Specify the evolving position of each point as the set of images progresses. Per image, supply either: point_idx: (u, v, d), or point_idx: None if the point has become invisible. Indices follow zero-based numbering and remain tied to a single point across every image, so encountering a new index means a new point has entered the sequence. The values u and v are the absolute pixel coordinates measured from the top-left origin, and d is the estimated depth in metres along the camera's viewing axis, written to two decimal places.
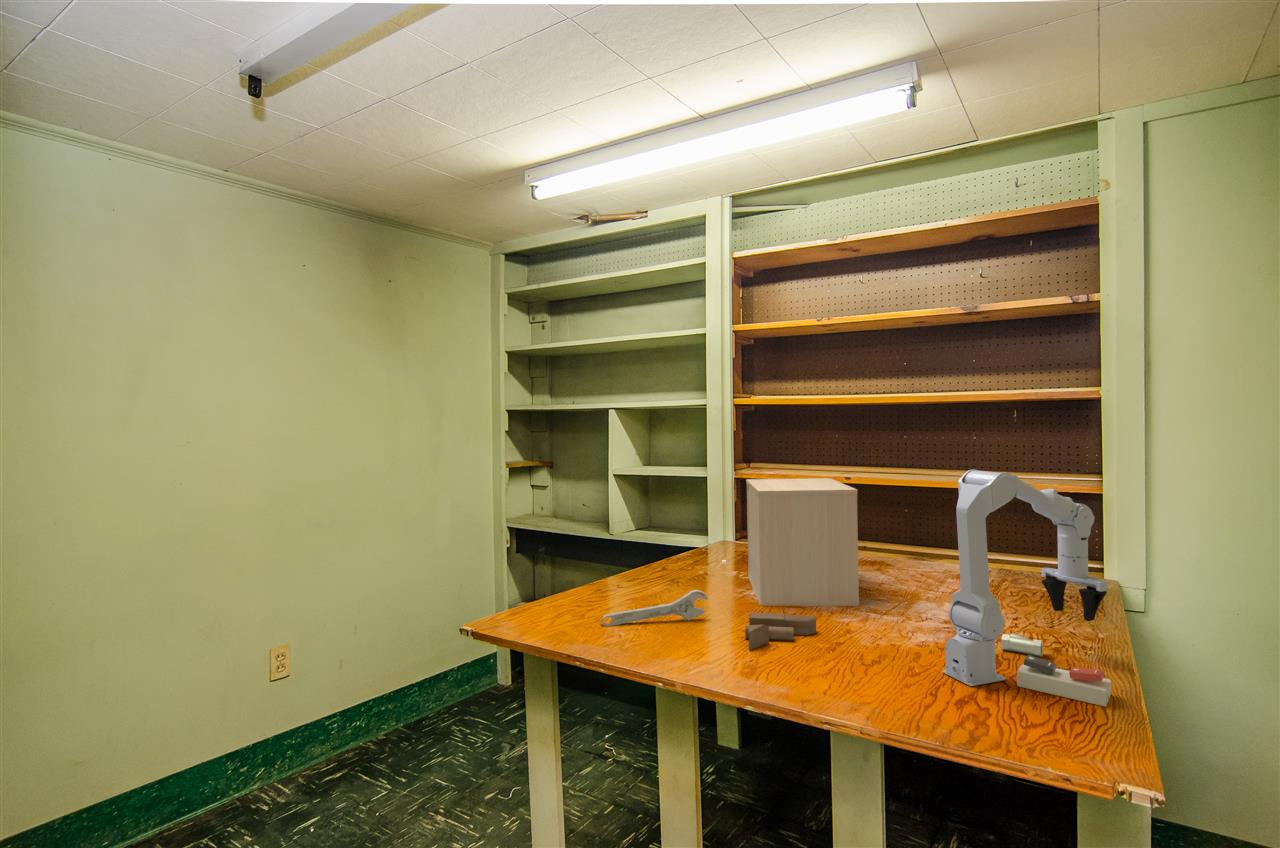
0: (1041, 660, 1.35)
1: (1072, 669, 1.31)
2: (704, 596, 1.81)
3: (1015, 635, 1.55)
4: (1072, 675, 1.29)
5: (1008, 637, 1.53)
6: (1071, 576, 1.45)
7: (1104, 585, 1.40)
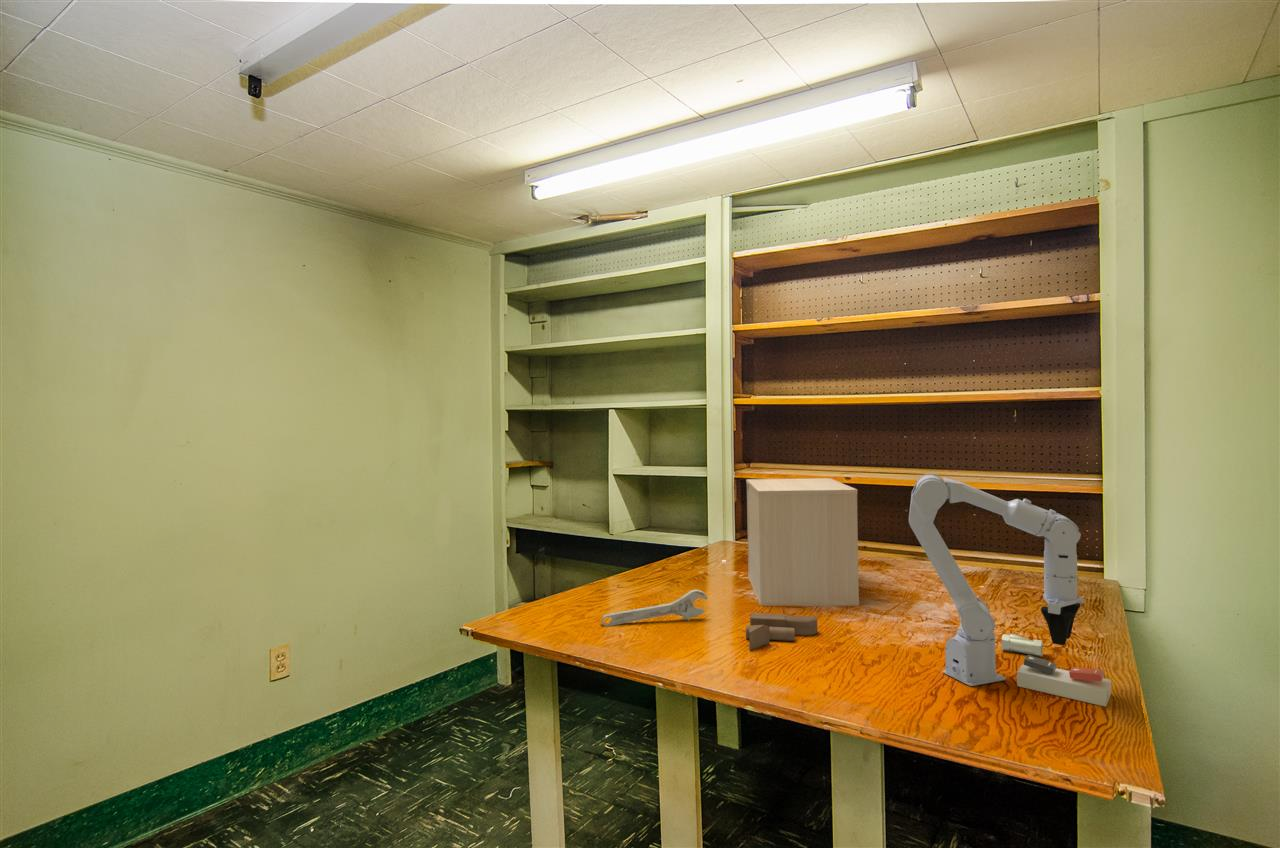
0: (1041, 660, 1.35)
1: (1072, 669, 1.31)
2: (704, 596, 1.82)
3: (1015, 635, 1.55)
4: (1072, 675, 1.29)
5: (1008, 637, 1.53)
6: (1045, 594, 1.34)
7: (1054, 607, 1.28)
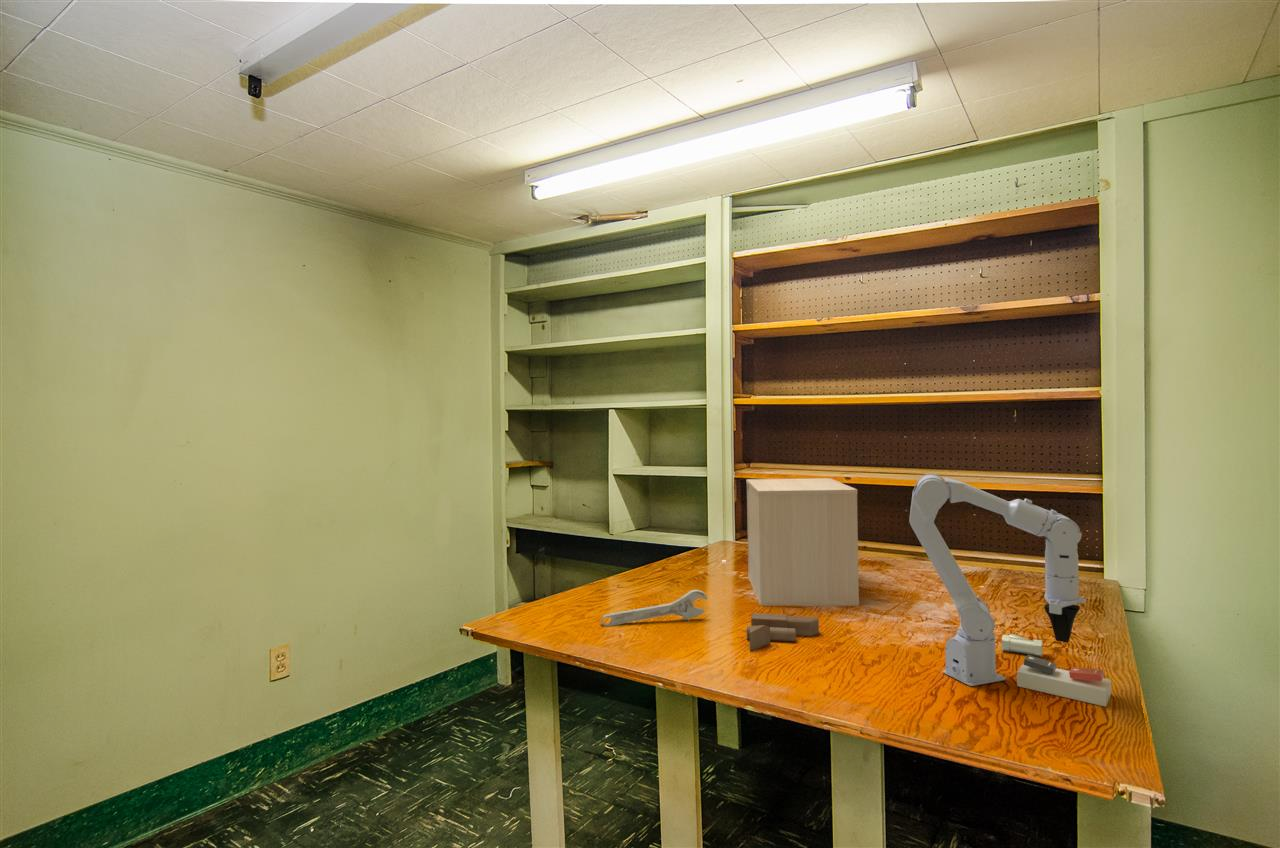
0: (1041, 660, 1.35)
1: (1072, 669, 1.31)
2: (704, 596, 1.81)
3: (1014, 636, 1.55)
4: (1072, 675, 1.29)
5: (1008, 638, 1.53)
6: (1046, 594, 1.33)
7: (1056, 607, 1.28)
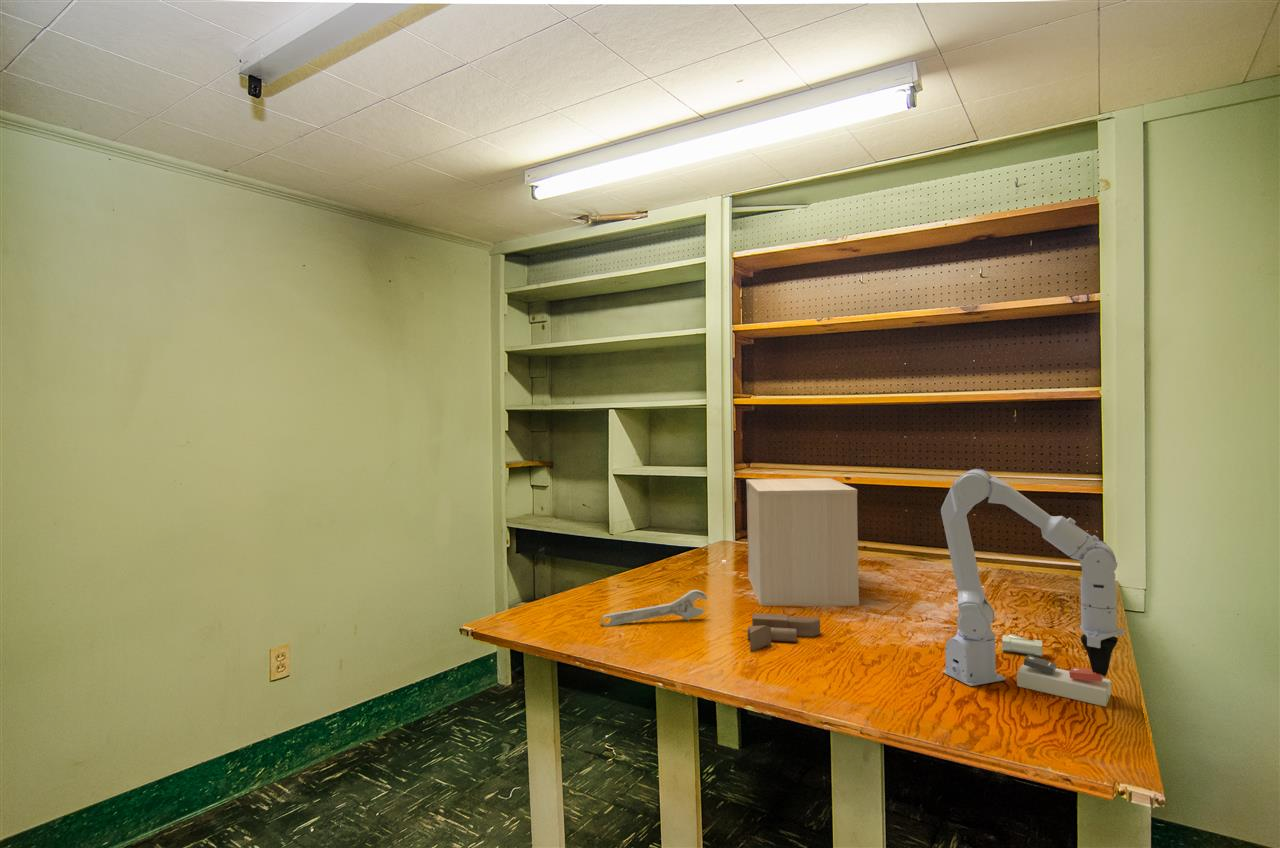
0: (1041, 660, 1.35)
1: (1072, 669, 1.31)
2: (703, 596, 1.82)
3: (1014, 636, 1.55)
4: (1072, 675, 1.29)
5: (1009, 638, 1.53)
6: (1083, 625, 1.28)
7: (1094, 640, 1.22)
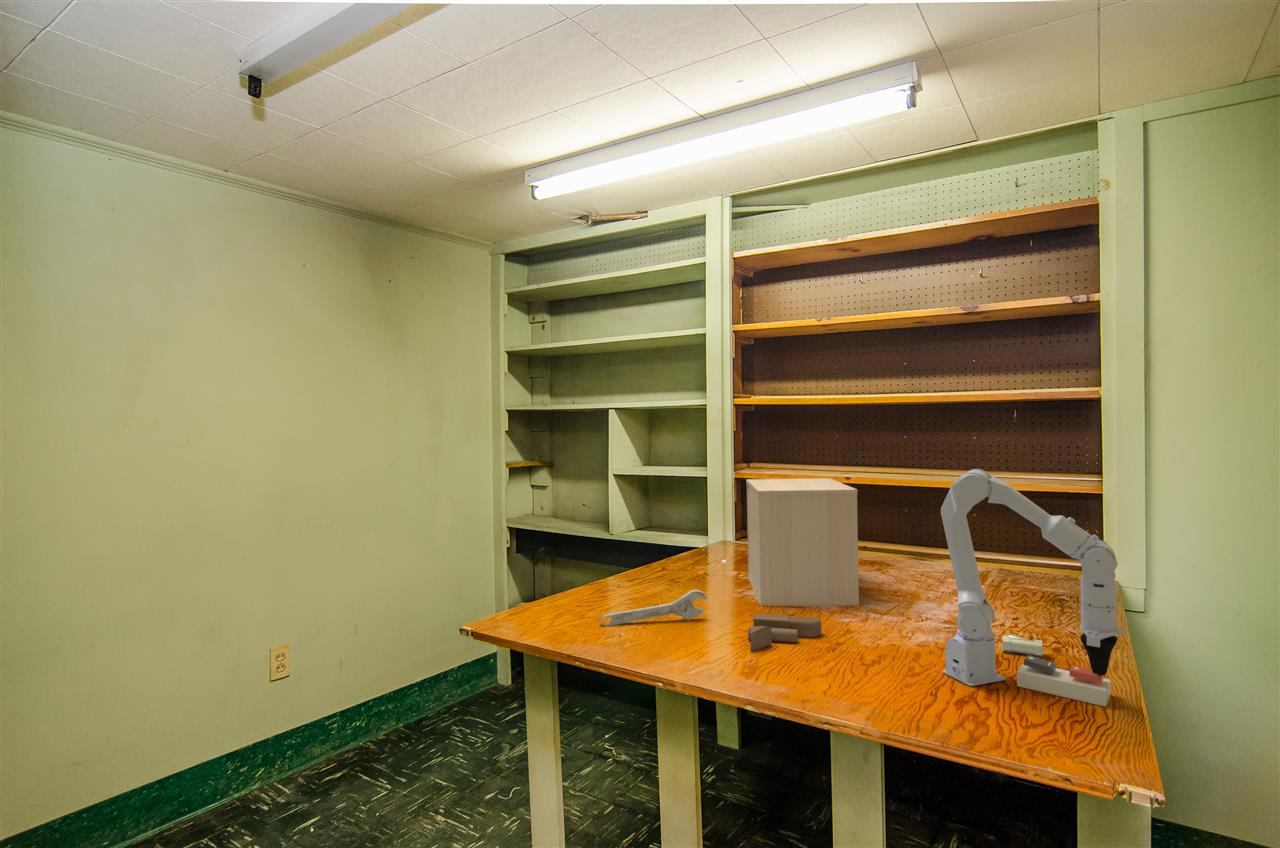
0: (1041, 660, 1.35)
1: (1072, 667, 1.31)
2: (703, 596, 1.82)
3: (1013, 636, 1.55)
4: (1072, 673, 1.29)
5: (1009, 638, 1.52)
6: (1083, 625, 1.28)
7: (1094, 639, 1.22)
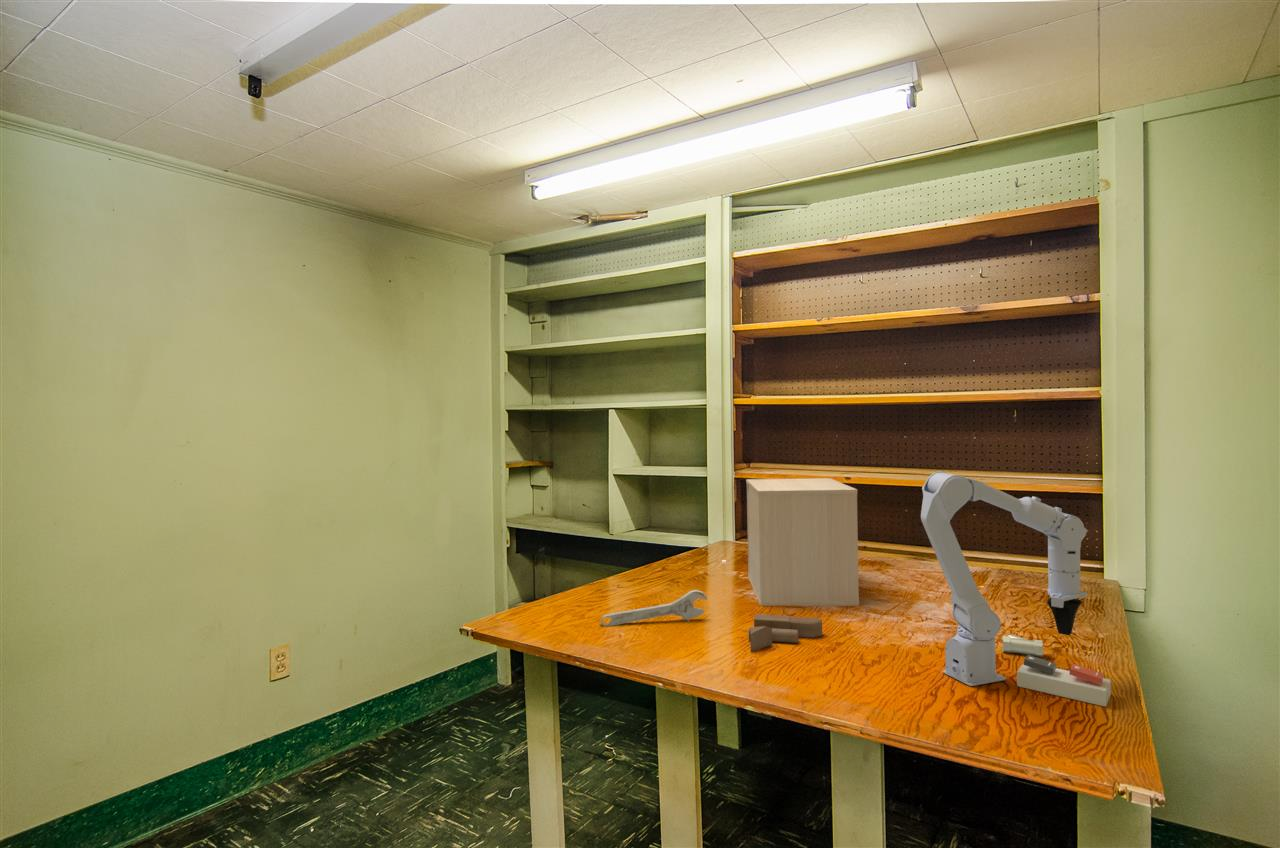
0: (1041, 660, 1.35)
1: (1073, 666, 1.30)
2: (703, 596, 1.81)
3: (1013, 636, 1.55)
4: (1072, 672, 1.29)
5: (1009, 639, 1.52)
6: (1049, 589, 1.38)
7: (1057, 600, 1.33)
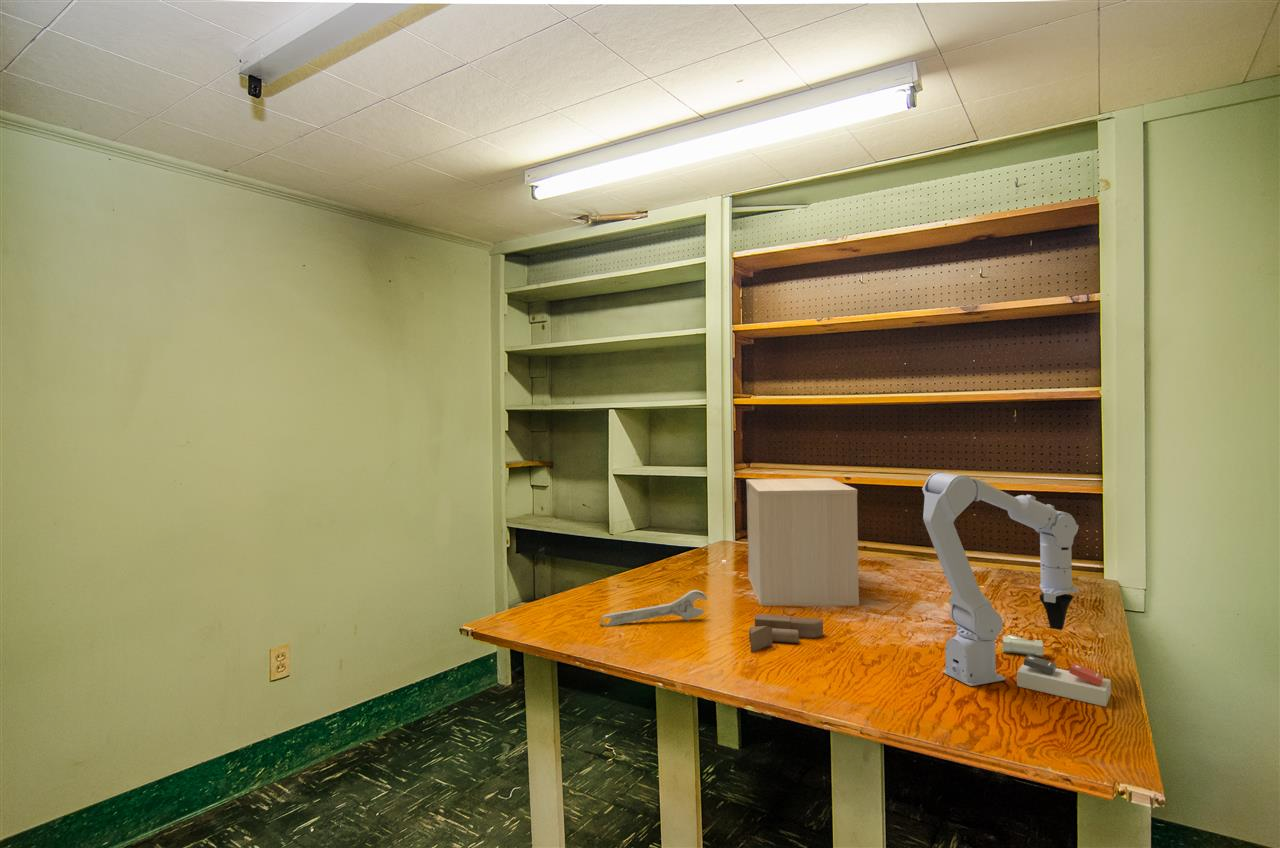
0: (1041, 660, 1.35)
1: (1074, 665, 1.30)
2: (703, 596, 1.81)
3: (1013, 636, 1.55)
4: (1072, 671, 1.29)
5: (1009, 639, 1.52)
6: (1041, 584, 1.41)
7: (1050, 596, 1.35)
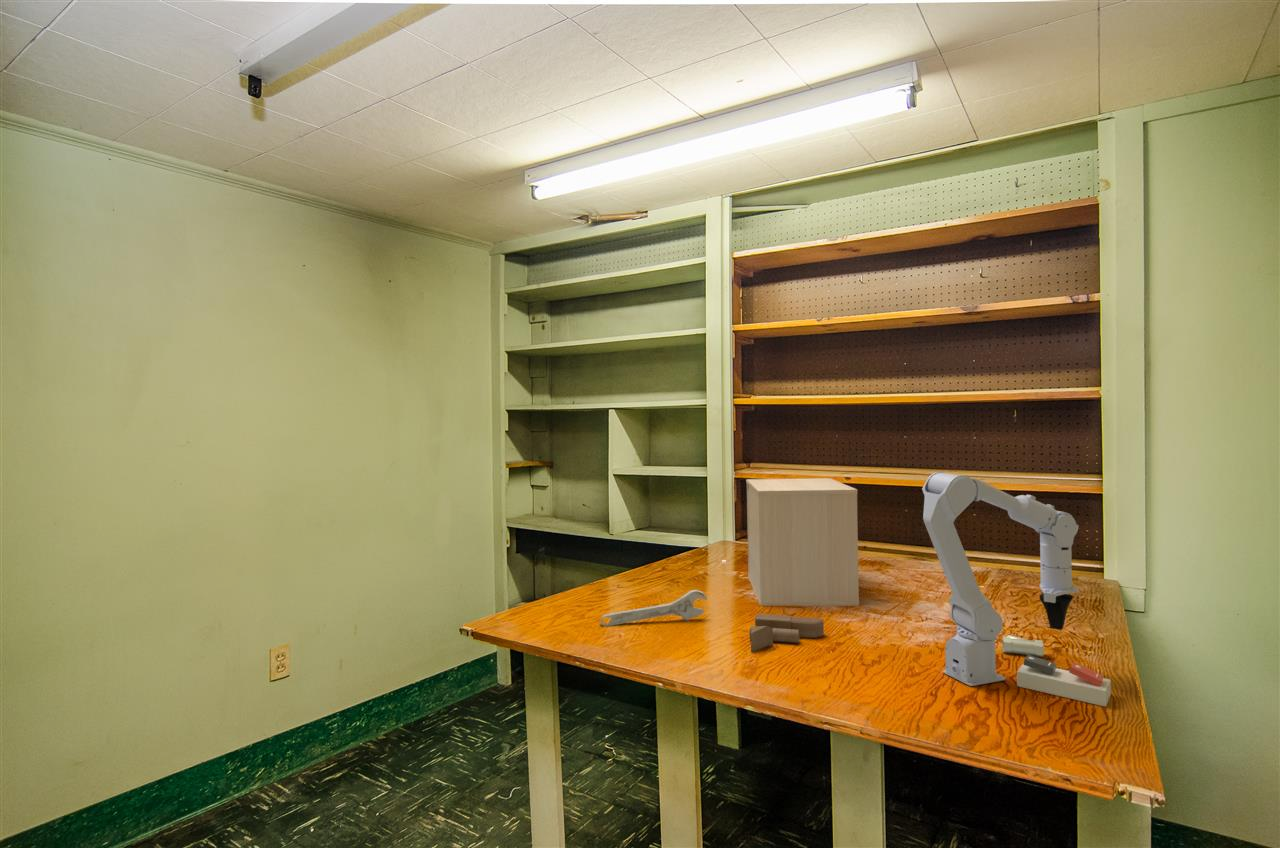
0: (1041, 660, 1.35)
1: (1074, 665, 1.30)
2: (703, 596, 1.81)
3: (1013, 636, 1.54)
4: (1072, 670, 1.29)
5: (1009, 639, 1.52)
6: (1041, 584, 1.41)
7: (1050, 596, 1.35)
